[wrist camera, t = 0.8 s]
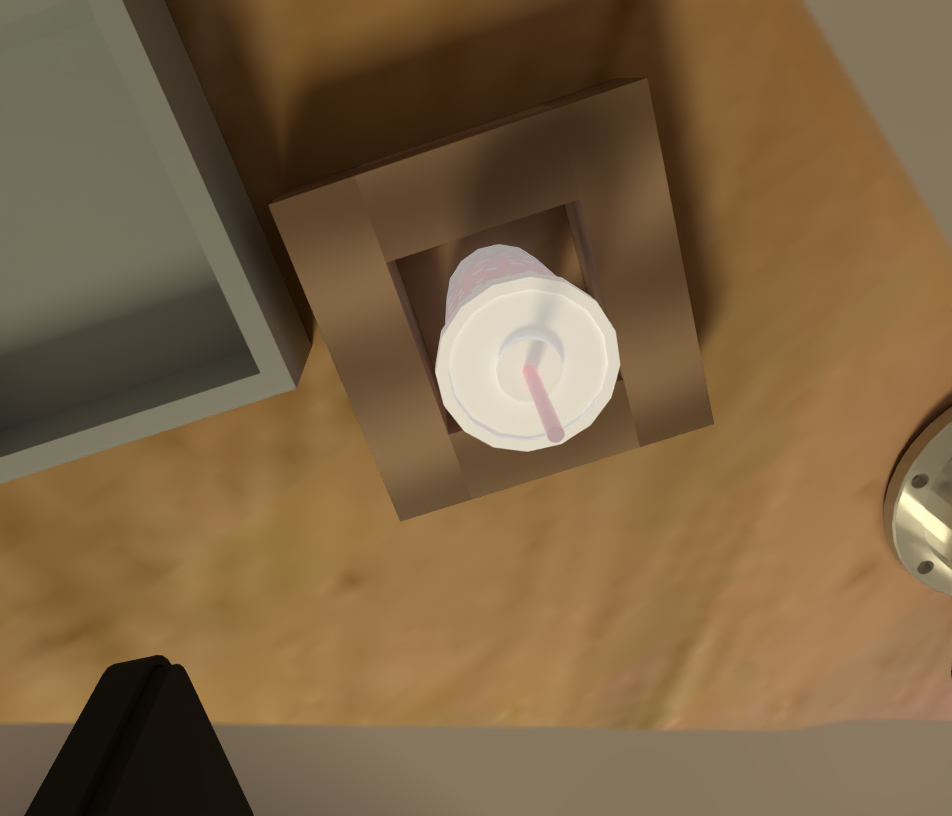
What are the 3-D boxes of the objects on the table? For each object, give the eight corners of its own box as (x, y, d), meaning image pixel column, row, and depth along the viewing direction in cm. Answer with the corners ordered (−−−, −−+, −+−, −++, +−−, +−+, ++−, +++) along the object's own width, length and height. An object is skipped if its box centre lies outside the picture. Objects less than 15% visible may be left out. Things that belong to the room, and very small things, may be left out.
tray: (312, 345, 33) (296, 388, 28) (-2, 447, 33) (-67, 505, 29) (152, -30, 27) (98, -53, 22) (-227, 104, 27) (-355, 108, 23)
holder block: (682, 388, 35) (713, 424, 31) (401, 476, 36) (400, 521, 32) (617, 78, 29) (647, 77, 26) (285, 190, 30) (268, 205, 26)
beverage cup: (565, 359, 34) (659, 526, 21) (432, 365, 34) (444, 538, 21) (570, 223, 32) (679, 319, 19) (426, 228, 31) (436, 329, 18)
